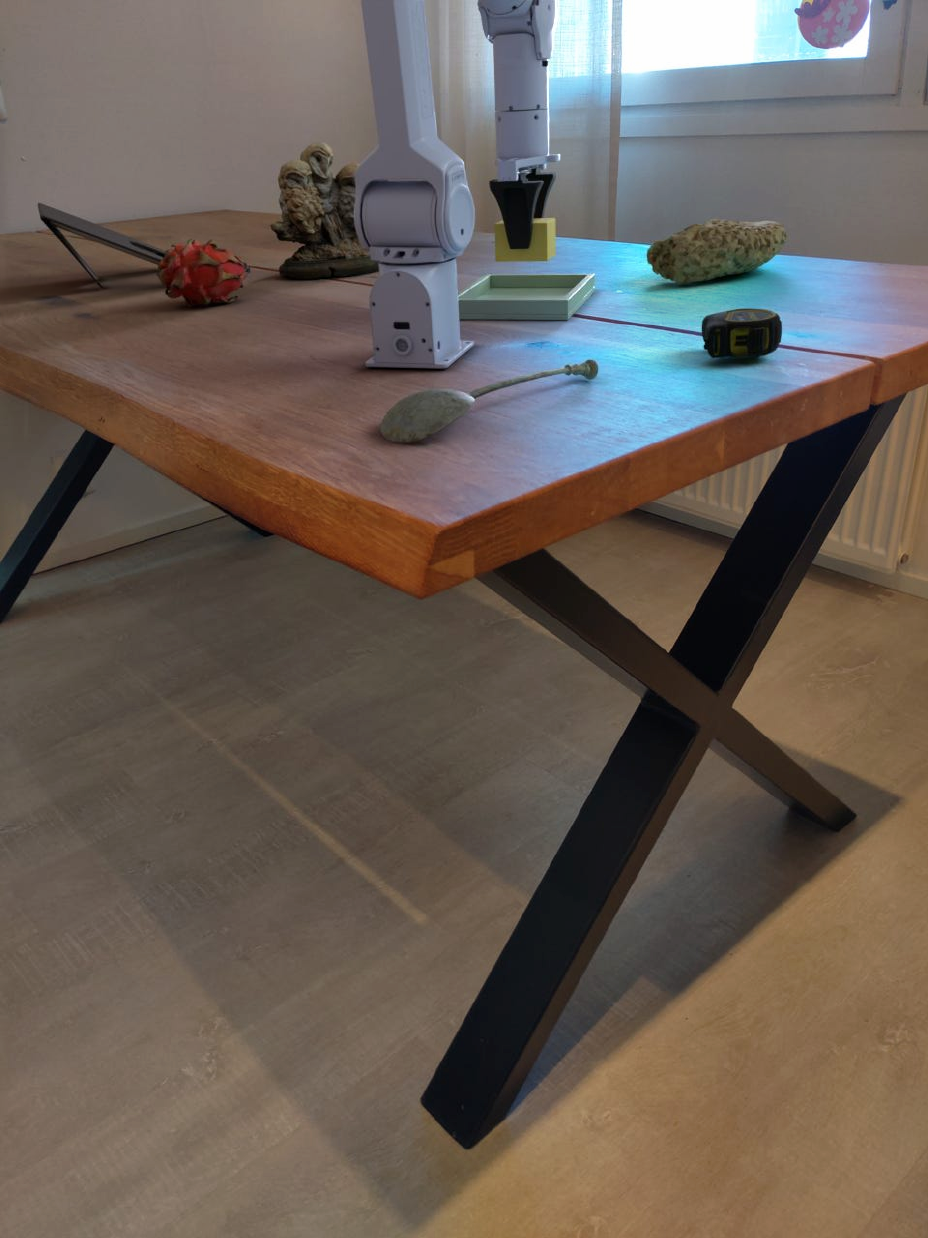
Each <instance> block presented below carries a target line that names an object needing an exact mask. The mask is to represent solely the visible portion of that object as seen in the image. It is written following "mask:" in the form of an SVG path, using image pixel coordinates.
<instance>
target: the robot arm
mask: <svg viewBox="0 0 928 1238" xmlns="http://www.w3.org/2000/svg"><path fill="white" fill-rule="evenodd" d="M360 5H361V14H362V21H363V28H364V37H365V44H366V52H367V53H366V54H367V60H368V69H369V76H370V85H371V91H372V100H373V109H374V117H375V124H376V132H377V140H378V143H377V144H376V146H375V147H374V148H373V149H372V150H371V152H370V153H369V154H368V155H367V156H366V157H365V158H364V159H363V160H362V161H361V162H360V163H359V164H360V165H359V166H358V168H357V169H356V170H355V172H354V176H355V185H356V197H355V205H354V224H355V229H356V232H357V235H358V237H359V239H360V241H361V243H362V245H363V246H364V247H365V248H366V250H368V251H369V252H370V254H371V260H374V261H379V262H378V266H379V271H378V277H377V279H376V280H375V281H374V283H373V284H372V287H371V289H370V293H369V300H368V301H369V302H368V303H369V314H370V326H371V337H372V346H373V348H372V349H373V356H372V357H370V358H369V359H367V360H366V361H365V363H364V364H365V367H367V368H395V369H396V368H401V369H438V370H439V369H447V368H449V367H450V366H451V365H453V364H454V363H455V362H457V360H458V359H459V358H461V357H462V356H463V355H464V354H466V352H468V351H469V350H470V349H471V348H472V347H474V345H475V343H474V342H475V341H473V340H461V326H460V319H459V304H458V292H459V286H458V266H457V265H458V264H457V258H458V257H460V256H463V255H464V251H465V250H466V248H467V247H468V246H469V243H470V242H471V240H472V238H473V234H474V231H475V221H476V211H475V203H474V198H473V196H472V193H471V191H470V188H469V184H468V179H467V174H466V168H465V162H464V160H463V159H462V158H461V157H460V156H459V155H458V154H457V153H455V152H454V151H453V150H452V149H451V148H450V147H448V146H447V145H446V144H445V143H444V142H443V141H442V140H441V139H440V138H439V137H438V130H437V129H438V128H437V119H436V118H437V117H436V109H435V108H436V107H435V97H434V87H433V86H434V85H433V78H432V67H431V55H430V45H429V36H428V35H429V34H428V25H427V15H426V5H425V0H360ZM476 5H477V7H478V8H477V9H478V11H479V14H480V19H481V25H482V31H483V34H484V36H485V38H486V39H487V41H488V42H489V43H490V44H492V56H493V59H492V61H493V62H492V63H493V89H494V91H493V92H494V111H495V112H494V122H495V125H494V126H495V148H496V149H495V151H496V152H495V153H496V156H495V157H494V165H495V166H496V171H497V179H495V178H494V179H491V180H489V183H488V184H489V189H490V192H491V193H492V195H493V197H494V199H495V201H496V203H497V206H498V209H499V211H500V215H501V217H502V220H503V222H504V226H505V231H506V235H507V240H508V243H509V247H510V249H528V248H529V246H530V242H531V237H532V229H533V218H545V212H546V207H547V202H548V199H549V196H550V193H551V190H552V187H553V185H554V184H555V182H556V178H557V173H556V172H555V171H554V172H552V171H551V172H550V171H549V172H548V171H547V172H541V171H545V170H547V165H548V164H550V163H558V162H561V153H550V109H549V107H550V106H549V104H550V103H549V102H550V100H549V99H550V98H549V97H550V96H549V60H551V59H552V58H553V54H554V36H555V32H556V28H557V23H558V22H557V21H558V7H557V0H477V4H476Z"/></svg>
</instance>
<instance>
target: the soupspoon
mask: <svg viewBox="0 0 928 1238" xmlns="http://www.w3.org/2000/svg"><path fill="white" fill-rule="evenodd" d="M561 374H564V375H566V376H568V377H569V376H571V375H573V376H582V377H583V378H584V379H586V380H588V381H592V380H594V379H595V378H597V376H598V374H599V365H598V363H597V361H596V360H594V359H587V360H585V361H584V362H582V363H574V364H573V365H571V364H566V365H565V366H564V367H559V368H554V369H549V370H543V371H538V372H535V373H530V374H526V375H521V376H518V377H514V378H513V377H512V378H508V379H505V380H502V381H498V382H494V383H491V384H489V385H485V386H482V387H480V388H477V389H474V390H472V391H469V392H463V391H460V390H457V389H453V388H443V387H442V388H428V389H423V390H420V391H417V392H414V393H412V394H410V395H407V396H405V397H403V398H402V399H400V400H399V401H398V402H397V403H395V404H394V405H393V406H392V407H391V408H390V409H388V411H386V413H385V415H384V416H383V417H382V419H381V422H380V425H379V428H380V429H379V431H380V433H381V435H382V436H383V439H385V440H386V441H388V442H392V443H400V444H403V443H405V444H406V443H415V442H420V441H422V440H426V439H428V438H430V437H432V436H434V435H436V434H438V433H439V432H441V431H443V430H444V429H445V428H447V427H449V426H450V425H451V424H452V423H454V422H455V421H457V420H459V418H460V417H462V416H463V415H464V414H465V413H466V412H467V411H469V409H470V408H471V407H472V406H473V405H474V403H475V401H476V399H477V398H480V397H483V396H484V395H487V394H490V393H492V392H495V391H498V390H502V389H505V388H508V387H511V386H515V385H516V386H517V385H519V384H523V383H527V382H531V381H534V380H540V379H542V378H543V379H544V378H547V377H552V376H555V375H556V376H558V375H561Z"/></svg>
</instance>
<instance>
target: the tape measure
mask: <svg viewBox="0 0 928 1238" xmlns="http://www.w3.org/2000/svg"><path fill="white" fill-rule="evenodd" d="M782 336H783V322H782V320H781V317H780V315H779V313H777V312H776V311H773V310H769V309H764V308H744V307H743V308H734V309H730V310H729V309H728V310H725V311H721V312H720V311H719V312H715V313H711V314H708V315H706V316H704V317H703V319H702V321H701V337H702V341H703V342H704V344H703V350H704V351H707V353H708V355H709V357H711V358H713V359H719V358H741V359H748V358H749V359H750V358H756V359H757V358H758V359H759V358H760V357H763V356H767V355H771V354H772V353H774V352H775V351H777V350H778V348H779V346H780V344H781V342H782Z"/></svg>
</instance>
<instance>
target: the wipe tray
mask: <svg viewBox="0 0 928 1238" xmlns="http://www.w3.org/2000/svg"><path fill="white" fill-rule="evenodd" d="M595 282H596V274H595V273H487V274H484V275H482V276H481V277H479V278H478V279H477V280H475V281H473V282H471V283H470V284H469V285H467V286H465V288H462V289H461V290H458V304H459V320H479V321H480V320H482V321H483V320H486V321H488V320H489V321H491V320H494V321H503V320H504V321H514V320H515V321H569V320H570V319H571V318H572V317H573V316H574V314H576V312H577V311H578V310H579V309H580V308H581V307H582V306H583V305H584V303H586V301H587V300H588V299H589V298H590V297H591V296H592V295H593V294H594V293H595V288H596V287H595V286H596V285H595V284H596V283H595Z"/></svg>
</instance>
